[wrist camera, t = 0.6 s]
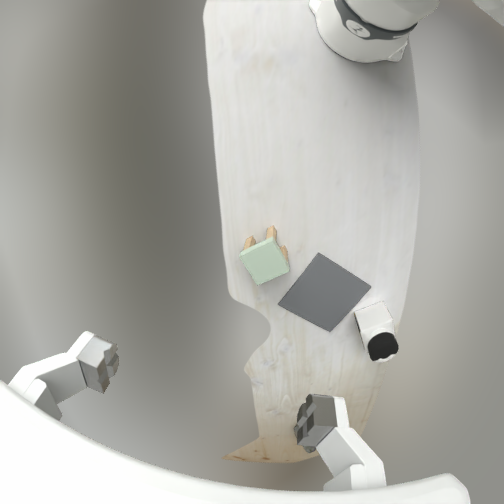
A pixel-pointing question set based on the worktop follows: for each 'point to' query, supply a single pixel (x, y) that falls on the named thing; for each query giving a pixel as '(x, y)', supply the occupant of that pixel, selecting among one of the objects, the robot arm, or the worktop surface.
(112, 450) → the robot arm
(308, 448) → the mineral rock
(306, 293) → the mat
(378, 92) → the worktop surface
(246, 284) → the worktop surface
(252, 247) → the stool
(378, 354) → the medicine bottle
